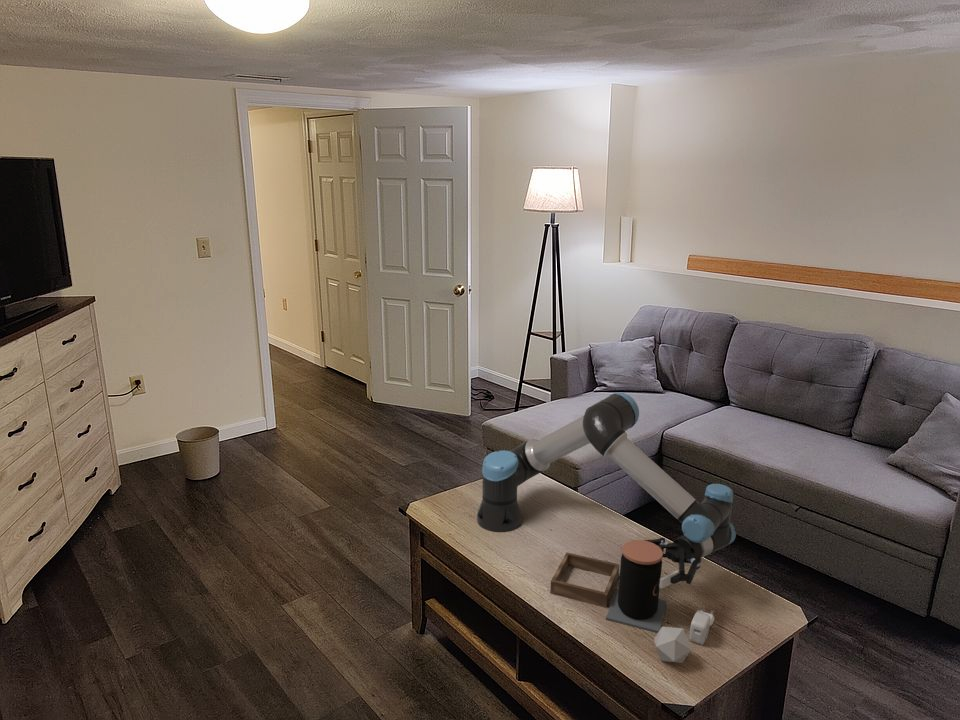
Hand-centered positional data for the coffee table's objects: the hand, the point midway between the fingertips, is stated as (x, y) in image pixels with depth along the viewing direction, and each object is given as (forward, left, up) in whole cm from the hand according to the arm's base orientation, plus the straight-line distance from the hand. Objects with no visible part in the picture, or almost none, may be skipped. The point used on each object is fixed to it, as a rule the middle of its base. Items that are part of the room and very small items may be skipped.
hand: (640, 570), depth 181 cm
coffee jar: (0, 0, -12) cm, 12 cm away
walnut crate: (-6, -16, -13) cm, 22 cm away
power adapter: (+2, +17, -13) cm, 21 cm away
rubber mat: (0, 0, -13) cm, 13 cm away
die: (+15, +11, -13) cm, 22 cm away
